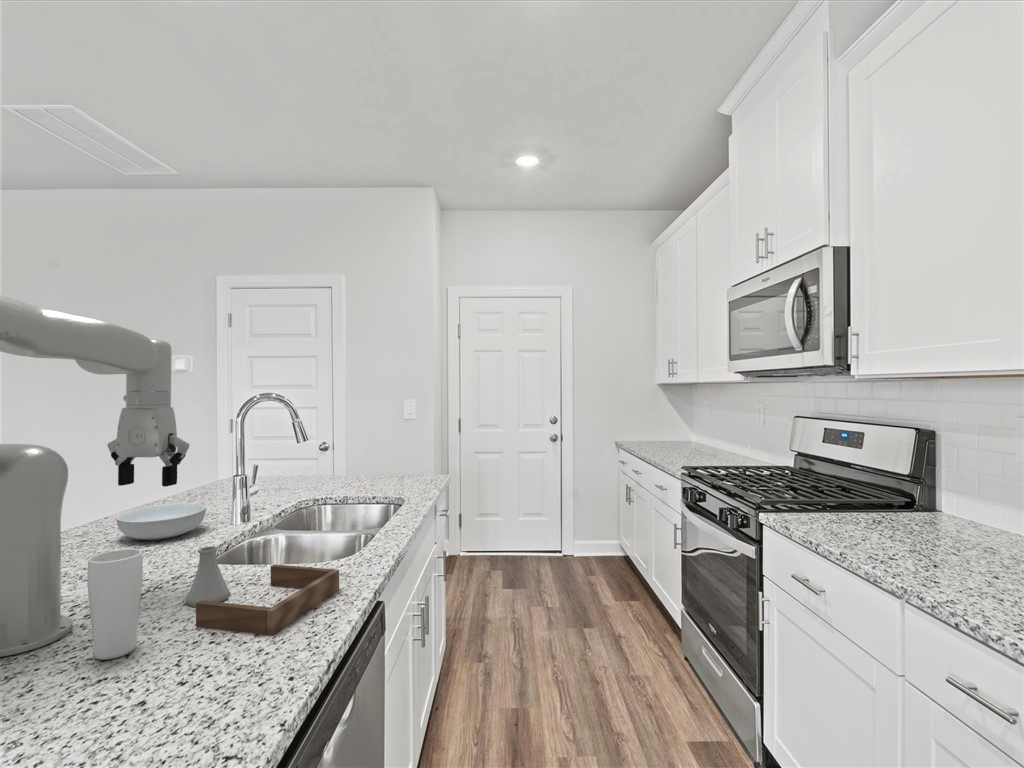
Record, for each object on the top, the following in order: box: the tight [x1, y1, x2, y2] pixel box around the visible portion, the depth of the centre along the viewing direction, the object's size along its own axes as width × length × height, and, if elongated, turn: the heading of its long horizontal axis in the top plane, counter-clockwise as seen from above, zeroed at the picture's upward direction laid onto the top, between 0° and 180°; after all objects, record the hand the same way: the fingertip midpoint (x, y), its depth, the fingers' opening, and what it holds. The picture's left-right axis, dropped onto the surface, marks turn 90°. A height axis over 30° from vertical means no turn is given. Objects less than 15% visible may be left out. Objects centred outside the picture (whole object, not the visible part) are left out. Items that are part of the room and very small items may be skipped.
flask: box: [184, 545, 231, 608], centre depth 100 cm, size 7×7×10 cm
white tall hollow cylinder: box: [86, 548, 144, 661], centre depth 80 cm, size 7×7×15 cm
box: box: [195, 564, 340, 636], centre depth 97 cm, size 20×15×4 cm
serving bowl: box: [115, 502, 207, 541], centre depth 145 cm, size 21×21×7 cm
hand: (147, 484), depth 105 cm, fingers open, 9 cm apart
